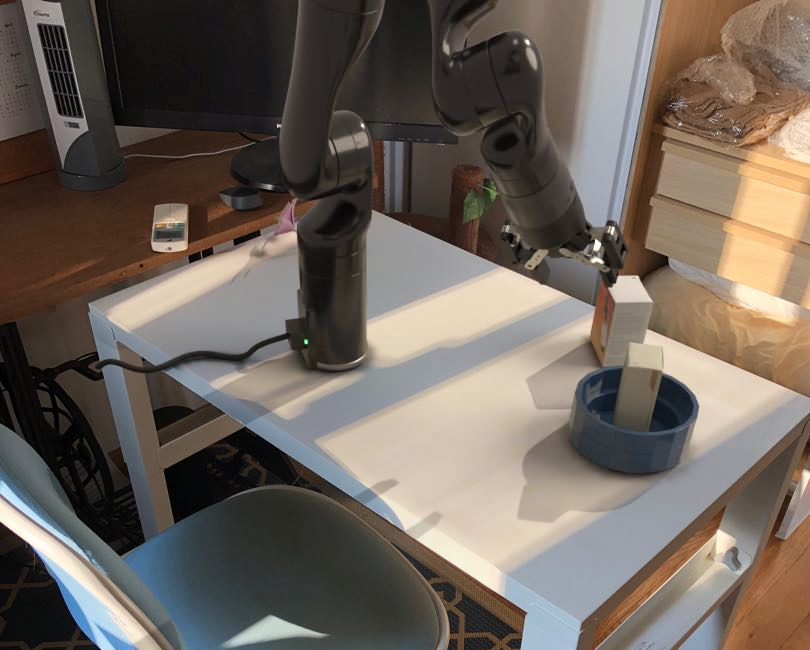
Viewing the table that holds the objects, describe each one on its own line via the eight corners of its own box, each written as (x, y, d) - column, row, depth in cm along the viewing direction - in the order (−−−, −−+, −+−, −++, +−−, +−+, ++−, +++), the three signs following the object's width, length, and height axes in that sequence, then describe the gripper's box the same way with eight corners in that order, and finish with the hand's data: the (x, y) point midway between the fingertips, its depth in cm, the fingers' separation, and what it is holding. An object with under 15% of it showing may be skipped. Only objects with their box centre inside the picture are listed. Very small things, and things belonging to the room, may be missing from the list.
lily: (298, 232, 165) (268, 186, 159) (344, 224, 157) (314, 176, 151) (263, 276, 160) (230, 231, 154) (308, 270, 152) (275, 223, 146)
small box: (588, 339, 138) (600, 274, 131) (624, 338, 139) (638, 274, 131) (601, 368, 132) (614, 302, 125) (638, 367, 133) (654, 301, 126)
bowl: (599, 486, 113) (609, 443, 108) (549, 415, 123) (556, 374, 119) (709, 465, 116) (722, 424, 112) (651, 398, 127) (661, 358, 123)
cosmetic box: (643, 453, 117) (664, 372, 108) (609, 449, 117) (627, 367, 109) (644, 424, 121) (664, 344, 113) (611, 420, 122) (628, 340, 114)
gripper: (471, 226, 101) (516, 304, 115) (593, 227, 94) (627, 309, 108) (490, 168, 103) (533, 252, 116) (612, 165, 96) (642, 254, 110)
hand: (578, 279), depth 112 cm, fingers open, 8 cm apart
